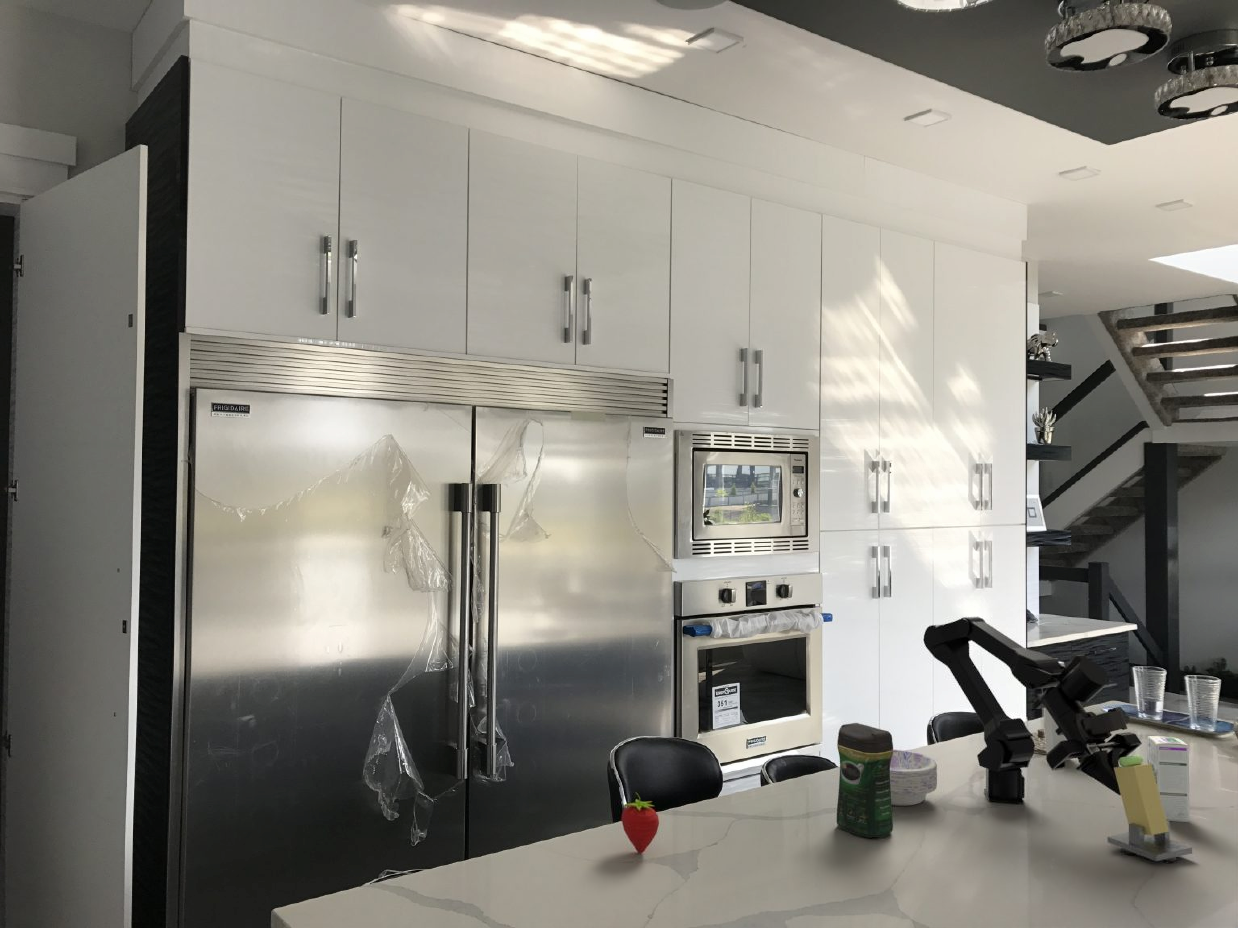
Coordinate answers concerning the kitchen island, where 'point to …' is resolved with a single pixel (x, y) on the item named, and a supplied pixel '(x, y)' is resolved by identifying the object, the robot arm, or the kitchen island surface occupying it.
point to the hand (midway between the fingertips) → (1123, 793)
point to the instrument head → (1140, 795)
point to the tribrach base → (1149, 844)
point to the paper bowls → (911, 777)
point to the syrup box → (1171, 775)
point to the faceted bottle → (1051, 729)
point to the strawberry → (640, 824)
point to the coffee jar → (864, 780)
